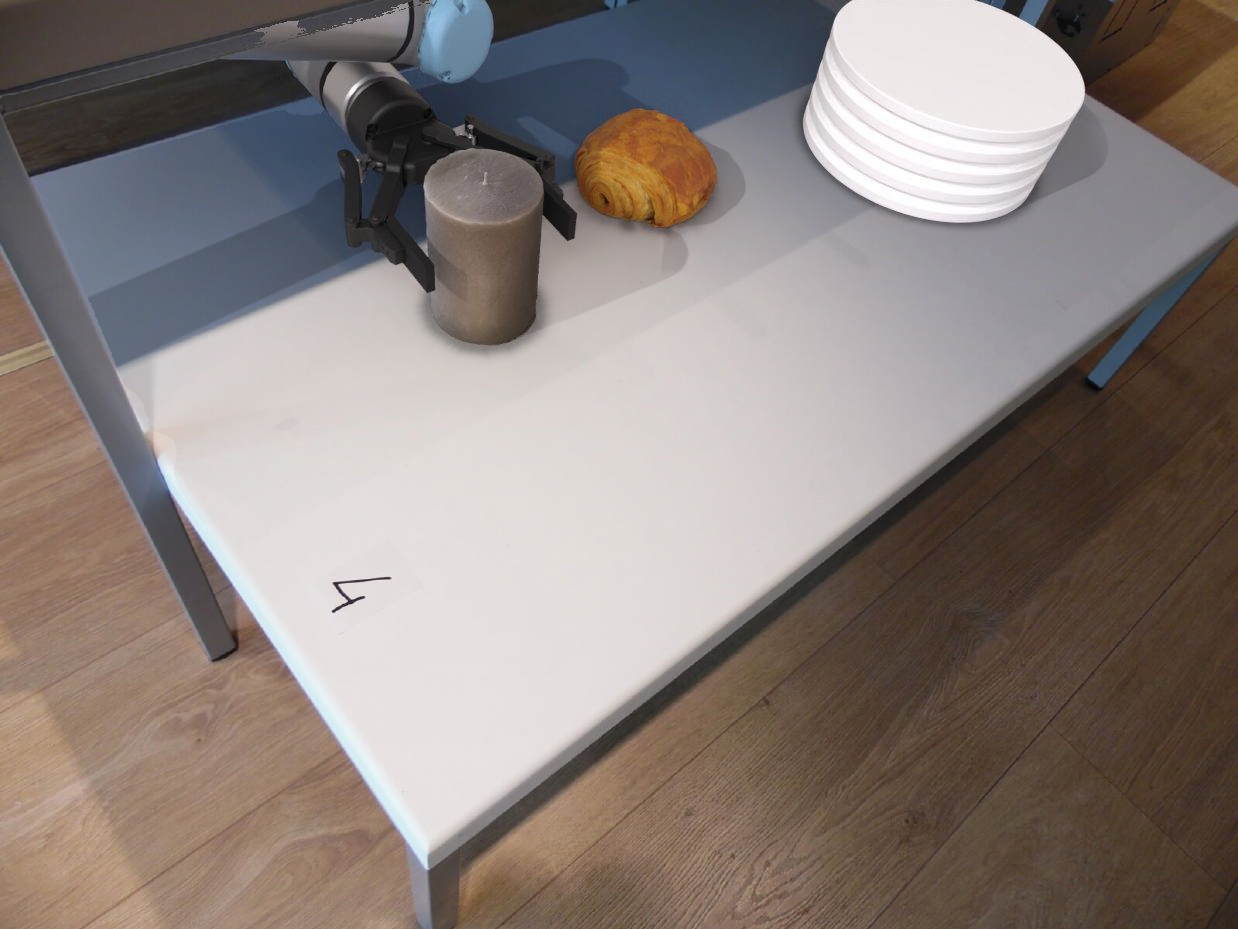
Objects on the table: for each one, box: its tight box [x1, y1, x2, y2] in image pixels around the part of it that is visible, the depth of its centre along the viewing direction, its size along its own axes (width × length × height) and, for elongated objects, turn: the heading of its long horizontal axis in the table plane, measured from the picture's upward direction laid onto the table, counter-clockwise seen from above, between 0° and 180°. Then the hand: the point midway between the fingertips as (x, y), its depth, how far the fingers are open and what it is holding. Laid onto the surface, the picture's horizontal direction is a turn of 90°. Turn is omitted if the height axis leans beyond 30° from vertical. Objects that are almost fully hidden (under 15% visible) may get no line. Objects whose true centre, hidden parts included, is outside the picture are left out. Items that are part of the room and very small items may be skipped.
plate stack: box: [802, 0, 1086, 224], centre depth 104 cm, size 28×28×12 cm
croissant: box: [573, 107, 718, 229], centre depth 95 cm, size 14×16×8 cm
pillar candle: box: [423, 148, 544, 346], centre depth 78 cm, size 10×10×15 cm
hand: (504, 252), depth 75 cm, fingers open, 13 cm apart
